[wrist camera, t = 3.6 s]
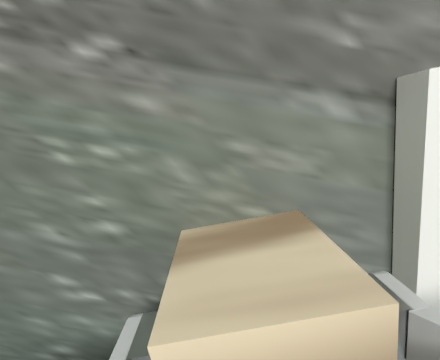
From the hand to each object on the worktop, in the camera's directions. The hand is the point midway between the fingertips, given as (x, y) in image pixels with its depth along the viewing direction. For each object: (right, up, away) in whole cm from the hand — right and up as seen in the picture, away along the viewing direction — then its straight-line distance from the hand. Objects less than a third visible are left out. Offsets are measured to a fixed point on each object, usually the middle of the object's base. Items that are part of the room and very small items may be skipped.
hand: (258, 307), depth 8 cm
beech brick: (0, 0, +2) cm, 2 cm away
